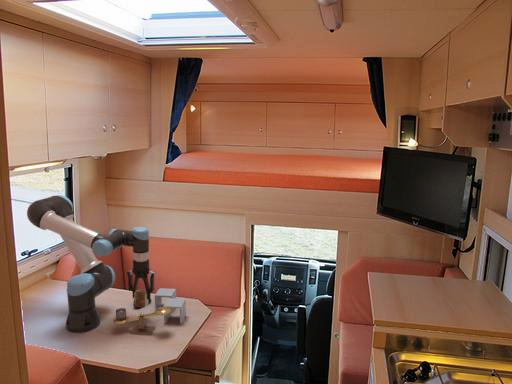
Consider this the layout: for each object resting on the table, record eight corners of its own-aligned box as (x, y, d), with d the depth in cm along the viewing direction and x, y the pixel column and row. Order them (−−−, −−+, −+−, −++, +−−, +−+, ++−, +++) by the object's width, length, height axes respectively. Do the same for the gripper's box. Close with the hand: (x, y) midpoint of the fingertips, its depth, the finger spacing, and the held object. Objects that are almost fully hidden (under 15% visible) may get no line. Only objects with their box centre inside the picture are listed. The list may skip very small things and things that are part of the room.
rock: (134, 310, 207) (133, 299, 205) (133, 301, 216) (132, 291, 215) (152, 307, 209) (151, 297, 208) (150, 299, 219) (150, 289, 218)
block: (135, 306, 196) (135, 293, 194) (138, 302, 200) (138, 289, 199) (144, 307, 195) (144, 294, 194) (147, 303, 200) (147, 290, 198)
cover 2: (164, 323, 194) (163, 306, 192) (169, 314, 202) (168, 298, 200) (181, 324, 193) (181, 307, 191) (186, 315, 202) (185, 298, 200)
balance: (111, 333, 184) (110, 311, 182) (117, 325, 191) (116, 303, 189) (169, 336, 182) (168, 314, 180) (173, 328, 189) (172, 306, 187)
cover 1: (155, 311, 205) (154, 295, 203) (160, 304, 213) (159, 288, 212) (171, 312, 204) (171, 296, 203) (176, 304, 213) (175, 288, 211)
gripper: (120, 260, 190) (121, 306, 194) (156, 263, 189) (156, 309, 193) (126, 255, 197) (127, 299, 202) (161, 257, 196) (161, 302, 201)
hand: (141, 304), depth 198 cm, fingers closed on block, 4 cm apart
